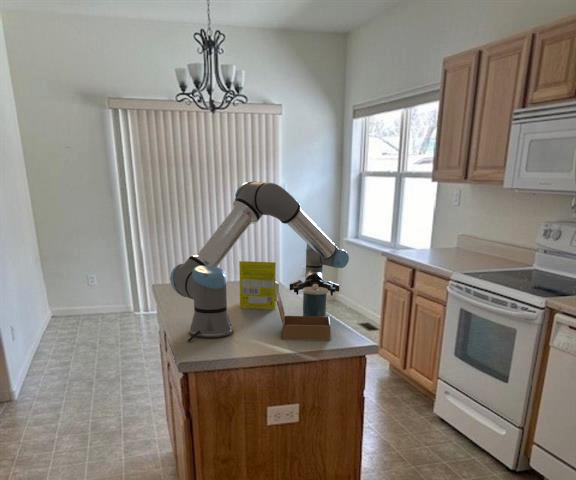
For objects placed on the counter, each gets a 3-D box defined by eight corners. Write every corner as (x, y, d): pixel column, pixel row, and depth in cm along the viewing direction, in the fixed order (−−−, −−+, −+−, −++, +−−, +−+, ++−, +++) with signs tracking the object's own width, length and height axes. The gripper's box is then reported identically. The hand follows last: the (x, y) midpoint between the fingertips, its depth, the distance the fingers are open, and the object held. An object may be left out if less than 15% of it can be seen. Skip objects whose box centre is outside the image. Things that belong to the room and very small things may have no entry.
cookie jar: (316, 329, 202) (317, 287, 196) (296, 324, 208) (297, 283, 202) (331, 324, 209) (333, 283, 203) (311, 320, 214) (313, 280, 208)
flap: (283, 322, 187) (282, 323, 187) (284, 313, 199) (283, 314, 199) (277, 300, 184) (276, 300, 184) (279, 292, 196) (278, 292, 196)
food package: (275, 309, 230) (275, 262, 223) (274, 309, 229) (275, 262, 222) (240, 307, 232) (239, 260, 224) (239, 308, 231) (239, 261, 223)
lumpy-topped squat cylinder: (280, 299, 246) (280, 281, 243) (252, 300, 243) (252, 281, 240) (275, 294, 256) (275, 276, 253) (248, 295, 253) (248, 277, 250)
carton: (282, 339, 189) (282, 324, 187) (283, 329, 201) (284, 315, 199) (329, 340, 189) (330, 326, 187) (328, 330, 201) (329, 316, 199)
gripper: (342, 290, 230) (345, 301, 210) (284, 289, 231) (282, 300, 211) (343, 273, 227) (347, 283, 207) (285, 271, 228) (283, 281, 208)
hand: (314, 291), depth 209 cm, fingers open, 13 cm apart
